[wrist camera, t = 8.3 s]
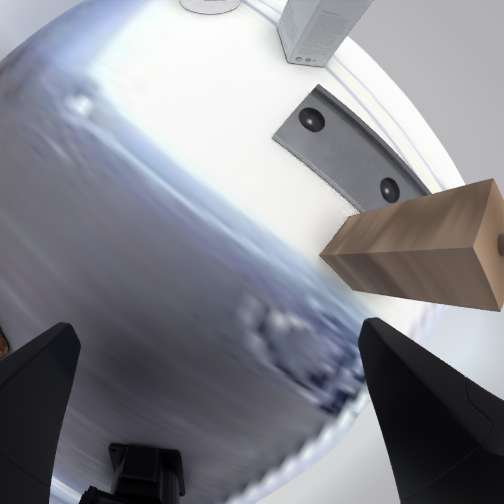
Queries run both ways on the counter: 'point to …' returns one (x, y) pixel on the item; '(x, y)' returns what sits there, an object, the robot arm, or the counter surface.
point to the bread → (3, 345)
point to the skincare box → (317, 28)
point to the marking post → (428, 248)
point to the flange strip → (348, 153)
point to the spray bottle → (210, 5)
